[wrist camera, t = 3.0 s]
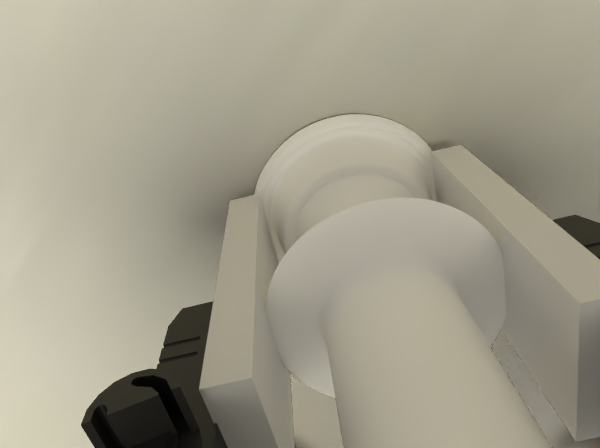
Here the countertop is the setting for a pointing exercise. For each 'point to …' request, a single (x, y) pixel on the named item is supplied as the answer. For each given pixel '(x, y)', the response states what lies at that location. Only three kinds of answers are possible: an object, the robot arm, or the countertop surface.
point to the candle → (387, 292)
